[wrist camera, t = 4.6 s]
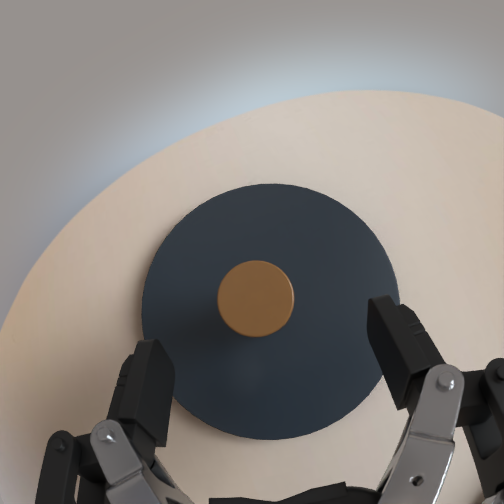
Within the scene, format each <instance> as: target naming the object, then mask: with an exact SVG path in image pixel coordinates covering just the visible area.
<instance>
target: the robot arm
mask: <svg viewBox="0 0 504 504" xmlns="http://www.w3.org/2000/svg"><path fill="white" fill-rule="evenodd" d="M367 336H368V340H369V343H370V345H371V347H372V350H373V352H374V354H375V356H376V359H377V361H378V363H379V366H380V368H381V371H382V373H383V375H384V378H385V380H386V383H387V385H388V388H389V390H390V393H391V395H392V398H393V400H394V403H395V405H396V408H397V410H401V409H404V408H407V410H408V413H409V417H408V419H407V422H406V425H405V427H404V430H403V433H402V435H401V438H400V440H399V443H398V445H397V448H396V450H395V453H394V455H393V457H392V459H391V461H390V463H389V465H388V467H387V469H386V471H385V473H384V475H383V477H382V479H381V481H380V483H379V485H378V487H377V489H376V491H375V490H372V489H368V488H363V487H354V486H348V487H346V483H345V482H341V483H337V484H332V485H328V486H323V487H318V488H313V489H310V490H307V491H305V492H302V493H300V494H297V495H295V496H292V497H289V498H286V499H284V500H281V501H277V502H272V501H263V500H256V499H249V498H243V497H236V498H209V504H435V503H436V501H437V498H438V496H439V493H440V491H441V488H442V486H443V483H444V480H445V477H446V474H447V471H448V469H449V465H450V462H451V459H452V456H453V452H454V448H455V442H454V441H453V435H454V431H455V427H462V428H463V430H464V433H465V436H466V439H467V441H468V444H469V447H470V450H471V453H472V456H473V459H474V462H475V465H476V469H477V472H478V475H479V479H480V482H481V486H482V490H483V493H484V497H485V500H484V501H483V502H482V504H504V358H496V359H493V360H492V361H490V362H489V364H488V365H487V367H486V368H485V370H477V371H468V372H462V371H460V370H459V369H458V368H456V367H455V366H452V365H449V364H446V363H445V361H444V360H443V358H442V356H441V355H440V353H439V351H438V349H437V348H436V346H435V344H434V343H433V341H432V339H431V338H430V336H429V335H428V333H427V332H426V331H425V328H424V327H423V325H422V323H420V320H419V319H418V317H417V316H416V314H415V313H414V311H413V310H411V309H410V308H408V307H407V306H405V305H404V304H401V305H398V306H396V305H395V303H394V301H393V300H392V298H391V297H390V295H388V294H385V295H382V296H378V297H374V298H370V299H369V300H368V311H367ZM174 383H175V368H174V365H173V363H172V361H171V359H170V358H169V356H168V354H167V353H166V351H165V349H164V348H163V346H162V344H161V343H160V341H159V340H158V339H150V340H141V341H138V343H137V345H136V348H135V352H134V354H132V355H129V356H128V358H127V359H126V360H125V362H124V363H123V364H122V367H121V370H120V374H119V378H118V380H117V384H116V385H117V386H116V387H115V390H114V394H113V397H112V401H111V404H110V408H109V412H108V415H107V418H106V420H103V421H101V422H99V423H98V424H97V425H96V426H95V427H94V428H93V430H92V432H91V433H89V434H85V435H81V436H77V437H74V436H72V435H71V434H70V433H68V432H67V431H64V430H61V431H57V432H55V433H54V434H53V435H52V436H51V437H50V439H49V441H48V444H47V447H46V451H45V456H44V460H43V464H42V469H41V473H40V478H39V483H38V488H37V494H36V500H35V504H76V502H75V499H74V494H75V487H76V481H77V475H79V476H81V477H80V483H79V490H78V498H77V504H195V503H194V502H193V501H192V500H191V499H190V498H189V497H188V496H186V495H185V494H184V493H183V492H182V491H181V490H180V489H179V487H178V486H177V485H176V483H175V482H174V481H173V479H172V478H171V476H170V475H169V474H168V472H167V471H166V469H165V468H164V466H163V465H162V463H161V462H160V460H159V459H158V457H157V456H156V455H155V447H166V441H167V433H168V425H169V418H170V410H171V403H172V396H173V389H174Z"/></svg>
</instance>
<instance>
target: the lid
mask: <svg viewBox="0 0 504 504" xmlns="http://www.w3.org/2000/svg"><path fill="white" fill-rule="evenodd" d="M385 294H388V295H390V297H391V298H392V300H393V301H394V303H395V305H396V306H398V305H400V297H399V291H398V286H397V280H396V277H395V274H394V271H393V268H392V265H391V262H390V260H389V258H388V256H387V254H386V252H385V250H384V248H383V246H382V245H381V243H380V242H379V240H378V239H377V237H376V236H375V234H374V233H373V232H372V231H371V230H370V228H369V227H368V226H367V225H366V224H365V223H364V222H363V221H362V220H361V219H360V218H359V217H358V216H357V215H356V214H355V213H353V212H352V211H351V210H350V209H348V208H347V207H345V206H344V205H342V204H341V203H339V202H338V201H336V200H334V199H332V198H330V197H328V196H326V195H324V194H322V193H319V192H316V191H313V190H310V189H307V188H303V187H298V186H294V185H285V184H258V185H251V186H245V187H241V188H237V189H234V190H230V191H227V192H225V193H223V194H220V195H218V196H216V197H213V198H212V199H210V200H208V201H206V202H205V203H203V204H201V205H199V206H198V207H197V208H195V209H194V210H193V211H192V212H190V213H189V214H188V215H186V216H185V217H184V218H183V219H182V220H181V221H180V222H179V223H178V224H177V225H176V226H175V227H174V228H173V230H172V231H171V232H170V233H169V235H168V236H167V237H166V238H165V240H164V241H163V243H162V245H161V246H160V248H159V249H158V251H157V253H156V255H155V257H154V259H153V262H152V264H151V266H150V269H149V272H148V275H147V278H146V281H145V286H144V291H143V297H142V314H141V315H142V328H143V335H144V340H150V339H158V340H159V341H160V343H161V344H162V346H163V348H164V349H165V351H166V353H167V354H168V356H169V358H170V359H171V361H172V363H173V365H174V368H175V383H174V389H173V397H174V398H175V399H176V400H177V401H178V402H179V403H180V404H181V405H182V406H183V407H184V408H185V409H187V410H188V411H189V412H190V413H191V414H193V415H194V416H195V417H197V418H199V419H200V420H202V421H203V422H205V423H206V424H208V425H210V426H213V427H215V428H217V429H219V430H221V431H224V432H227V433H230V434H233V435H236V436H240V437H245V438H252V439H260V440H279V439H288V438H295V437H299V436H303V435H307V434H310V433H313V432H315V431H318V430H320V429H323V428H325V427H327V426H329V425H331V424H333V423H335V422H336V421H338V420H340V419H342V418H343V417H344V416H346V415H347V414H348V413H350V412H351V411H352V410H353V409H355V408H356V407H357V406H358V405H359V404H360V403H361V402H362V401H363V400H364V399H365V398H366V397H367V396H368V395H369V394H370V392H371V391H372V390H373V389H374V387H375V386H376V384H377V383H378V382H379V380H380V379H381V377H382V375H383V373H382V371H381V368H380V366H379V363H378V361H377V359H376V356H375V354H374V352H373V350H372V347H371V345H370V343H369V340H368V336H367V311H368V300H369V299H370V298H374V297H378V296H382V295H385Z"/></svg>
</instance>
